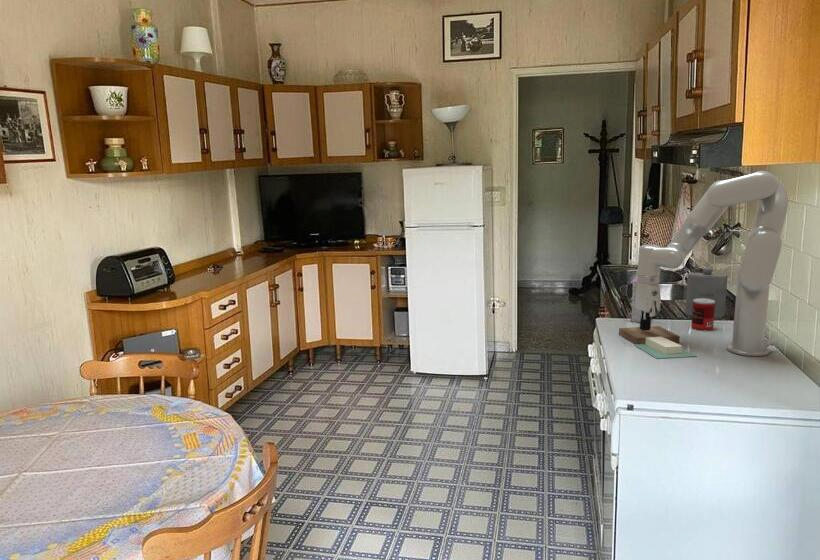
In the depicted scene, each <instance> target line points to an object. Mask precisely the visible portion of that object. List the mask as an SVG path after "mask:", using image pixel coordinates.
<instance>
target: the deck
mask: <svg viewBox="0 0 820 560" xmlns="http://www.w3.org/2000/svg"><path fill="white" fill-rule="evenodd" d="M618 335H619V336H620V335H621V337H622V338H623V339H625V338H626V340H627V341H629V342H630V343H632V344H633V345H634V344H645V341H646V338H648V337H663V338H666V339H668V340H670V341H672V342H675V343H677V344H680V338H681V336H680V335H679V334H676V333H674V332H672V331H670V330H668V329H666V328H665V327H662V326H660V325H658V326H656V325H655V326H651V328H650V330H641V329H640V326H638V327H637V326H633V327H619V328H618Z"/></svg>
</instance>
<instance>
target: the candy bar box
mask: <svg viewBox="0 0 820 560" xmlns="http://www.w3.org/2000/svg"><path fill="white" fill-rule="evenodd" d="M631 286H632V287H631V288H632V290H631V312H630V313H631V314H630V315H631V316H630V322H632V323H637V324H638V323H639V324H640V319H642V318H640V312H639V311H638V310H637V307H636V306H635V296H636V288H637V278H636V279H635V280H633V281H632V285H631Z"/></svg>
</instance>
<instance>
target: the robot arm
mask: <svg viewBox="0 0 820 560" xmlns="http://www.w3.org/2000/svg"><path fill="white" fill-rule="evenodd" d="M755 201H757V209H756V213H755V216H754V220H753V224H752V226H751V229H750V233H749V235H748V236H747V241H746V242H747V243H746V248H745V251H744V254H743V257H742V261H741V264H740V265H739V266H738V270H737V276H736V292H735V293H736V295H735V304H734V305H735V307H734V316H733V317H734V318H733V328H732V329H733V331H732V341H731V342H729V343H728V344H727V345H726V351H729V352H730V353H733V354H736V355H741V356H746V357H747V356H749V357H761V356H762V357H764V356H767V355H769V353H770V350H769V348H768V347H770V346H771V347H772V346H775V347H776V346H778V344H779V342H778V340H777V339H769V338H766V327H767V320H768V319H767V318H768V308H769V307H768V306H769V298H770V297H769V296H770V285H771V282H772V280H773V277H774V274H775V270H776V267H777V265H778V261H779V258H780V255H781V251H782V244H783V243H782V232H783V228H784V225H785V221H786V219H787V218H786V217H787V214H788V209H789V208H788V207H789V197H788V192H787V190H786V187H785V184H783V183H782V181H781V180H780V179H779V178H778V177H776V175H774V174H772V173H771V172H769V171H767V170H758V171H755V172H753V173H749V174H746V175H741V176H738V177H734V178H729V179H725V180H724V179H721V180H717V181H715V182H713V183H712V184H711V185H710V186H709V188H707V190H706V191H705V192H704V194H703V195H702V197H701V198H700V199H699V200H698V202H697V203H696V204H695V206H694V207H693V208H692V210H691V211H690V213H689V214H688V215H687V216H686V218H685V220H684V222H683V224H682V226H681V227H680V228H679V229H678V231H677V232H676V234H675V235H674V237H673V238H672V239H671V240H670V242H669V243H668V244H667V245H666V247H663V246H662V247H661V246H660V245H656V244H642V245H640V246H639V248H638V258H637V275H636V279H637V288H636V296H635V306H636V307H637V310H638V311H639V312H640V318H642V319H640V323H639V327H640V329H641V330H650V328H651V327H652V326H651V324H652V320H653V318H654V317H656V313H659V312H660V311H661V287H660V286H661V285H660V282H661V281H660V280H661V267H662V268H667V269H676V268H679V267H680V266H681V265H683V263H684V261H685V260H686V258H687V257H688V255H689V254H690V253H691V252H692V250H694V248H695V246H696V245H697V244H698V243H699V241H700V240H701V239H702V238H703V237H704V236H706V235H707V234H708V233H709V232H710V231H711V229H712V228H713V226H714V225H715V224H716V223H717V222H718V220H719V219H720V218H721V216H723V214H724V213H725V211H726V210H727V209H728V208H729V207H731V206H737V205H742V204H746V203H750V202H755Z"/></svg>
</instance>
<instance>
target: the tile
mask: <svg viewBox="0 0 820 560" xmlns="http://www.w3.org/2000/svg"><path fill="white" fill-rule="evenodd" d="M645 345H647V346H649V347H651V348H653V349H655V350H658V351H660V352H662V353H664V354H677V353H682V348H683V345H681V344H680V343H675V342H672V341H670V340H668V339H666V338H663V337H648V338H646V341H645Z"/></svg>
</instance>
